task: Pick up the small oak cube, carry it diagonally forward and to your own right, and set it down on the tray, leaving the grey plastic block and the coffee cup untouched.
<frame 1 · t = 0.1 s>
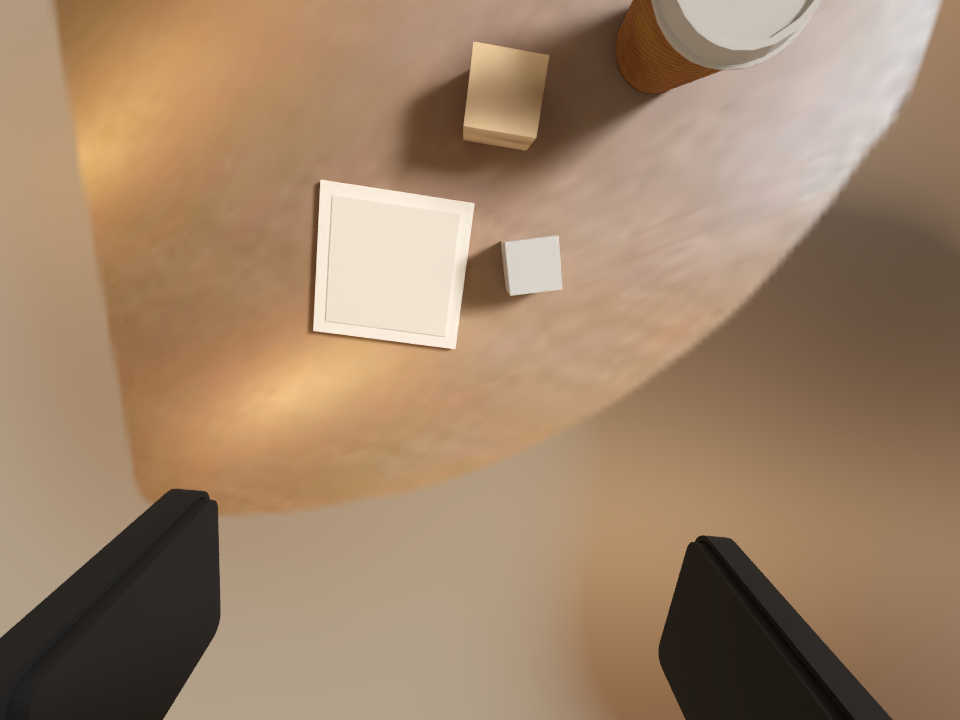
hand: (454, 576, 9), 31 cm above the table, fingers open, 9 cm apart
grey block: (526, 262, 38), on the table
tray: (392, 268, 38), on the table
oak cube: (499, 110, 35), on the table
disposable coffee cup: (655, 48, 34), on the table
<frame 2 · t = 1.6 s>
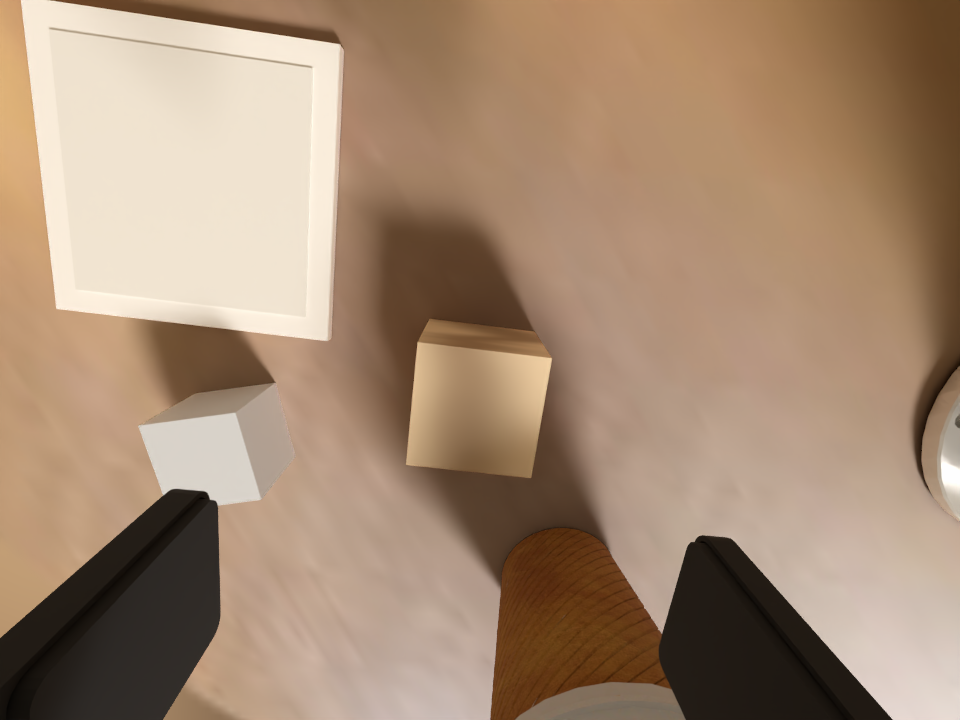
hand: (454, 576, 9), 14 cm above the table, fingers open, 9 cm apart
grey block: (247, 425, 23), on the table
tray: (197, 186, 20), on the table
oak cube: (475, 374, 22), on the table
disposable coffee cup: (557, 573, 26), on the table
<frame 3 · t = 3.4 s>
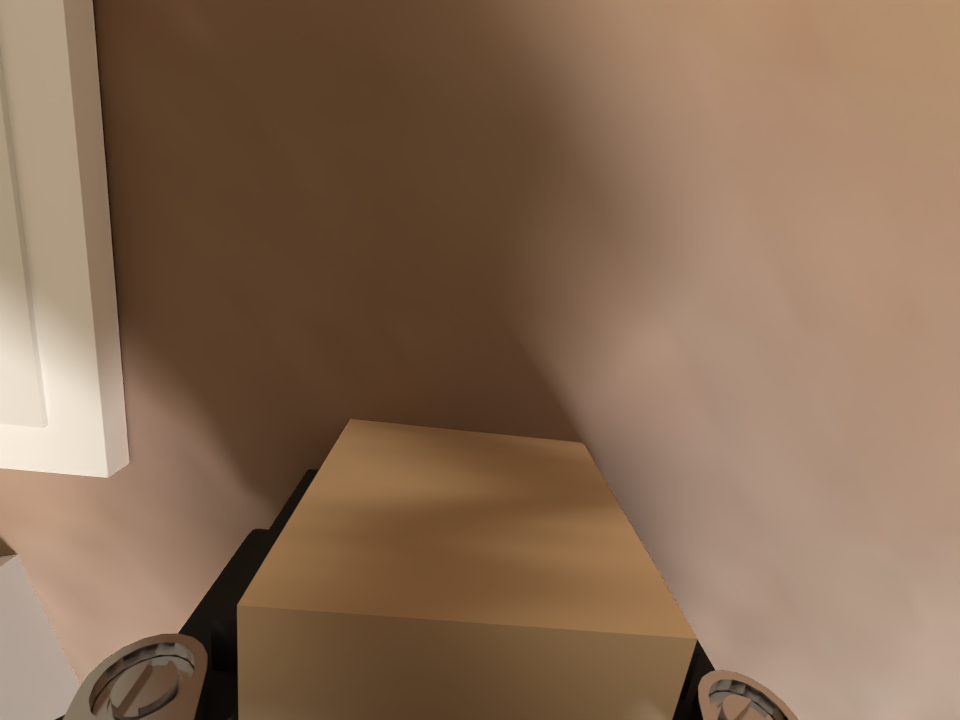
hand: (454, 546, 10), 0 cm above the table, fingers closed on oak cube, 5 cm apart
oak cube: (455, 531, 10), on the table, touching gripper
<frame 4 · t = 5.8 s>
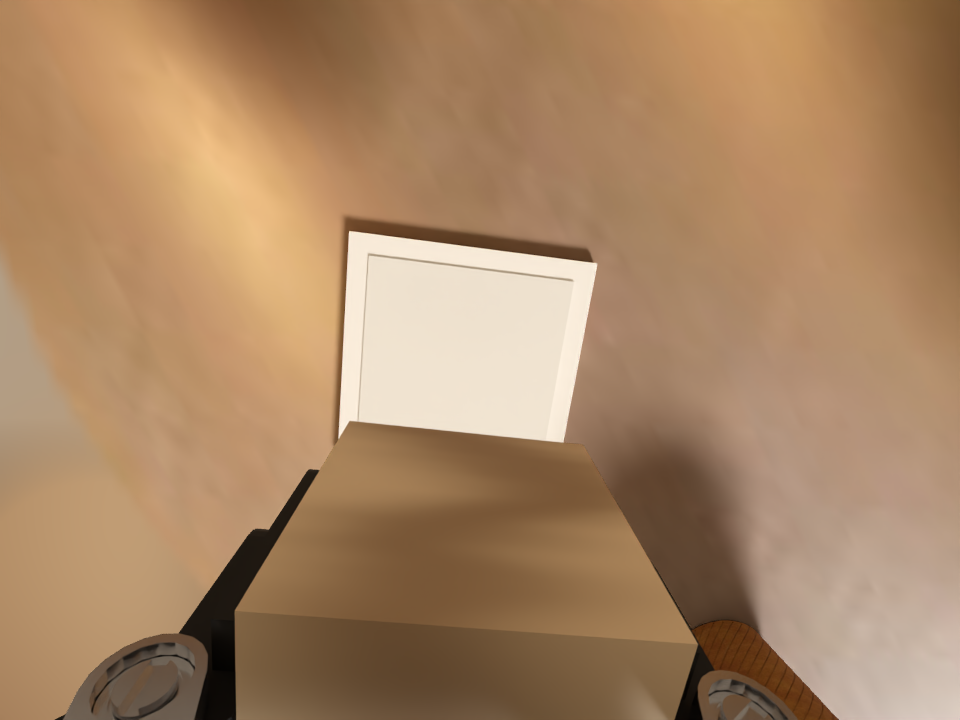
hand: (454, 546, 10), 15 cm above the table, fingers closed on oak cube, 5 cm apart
tray: (461, 363, 24), on the table
oak cube: (455, 533, 10), point 14 cm above the table, touching gripper
disposable coffee cup: (715, 655, 30), on the table
when the fingers open (2 cm above the table, at t = 8.3 s): oak cube drops 1 cm, resting on tray.
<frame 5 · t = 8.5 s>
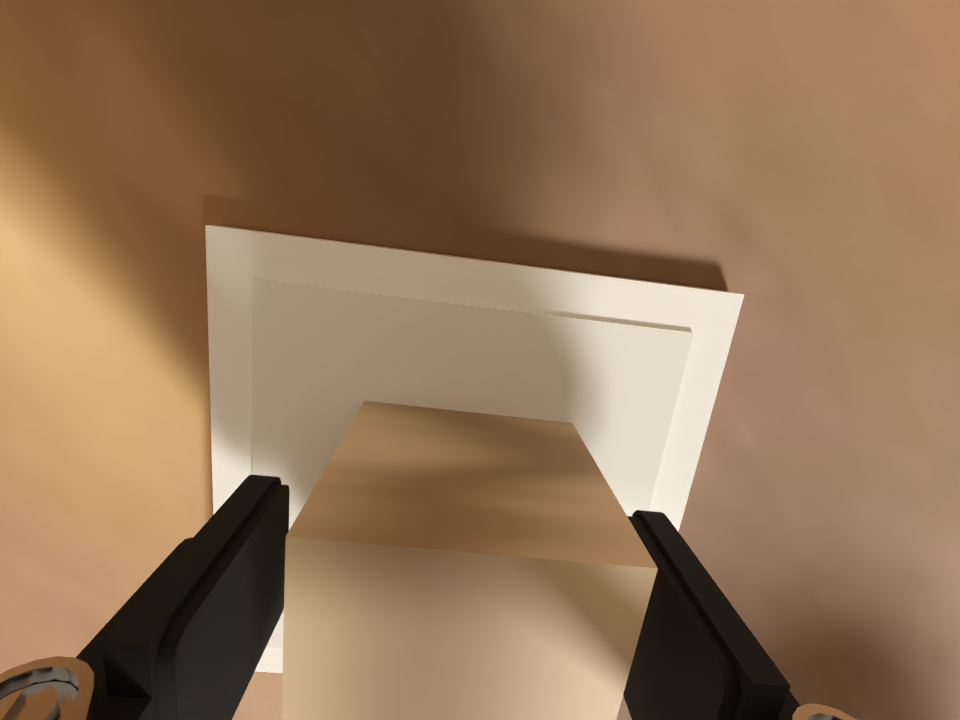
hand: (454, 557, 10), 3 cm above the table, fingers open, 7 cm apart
tray: (455, 487, 12), on the table
oak cube: (458, 503, 12), point 1 cm above the table, touching tray
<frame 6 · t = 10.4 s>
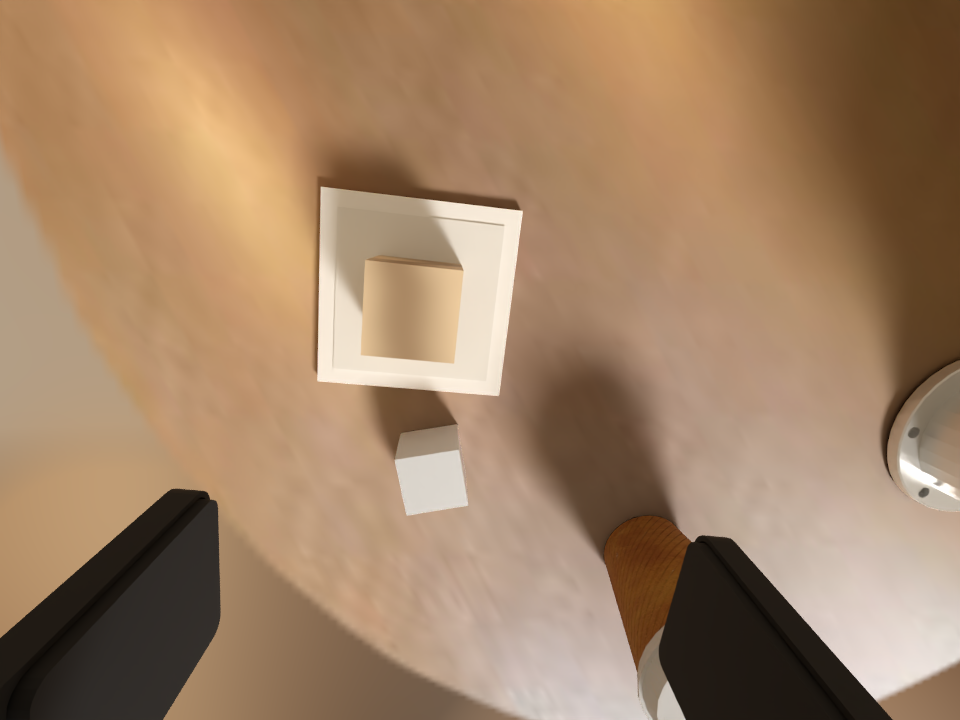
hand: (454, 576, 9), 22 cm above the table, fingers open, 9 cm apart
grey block: (434, 453, 33), on the table
tray: (417, 297, 29), on the table
oak cube: (417, 299, 29), point 1 cm above the table, touching tray
disposable coffee cup: (641, 547, 36), on the table
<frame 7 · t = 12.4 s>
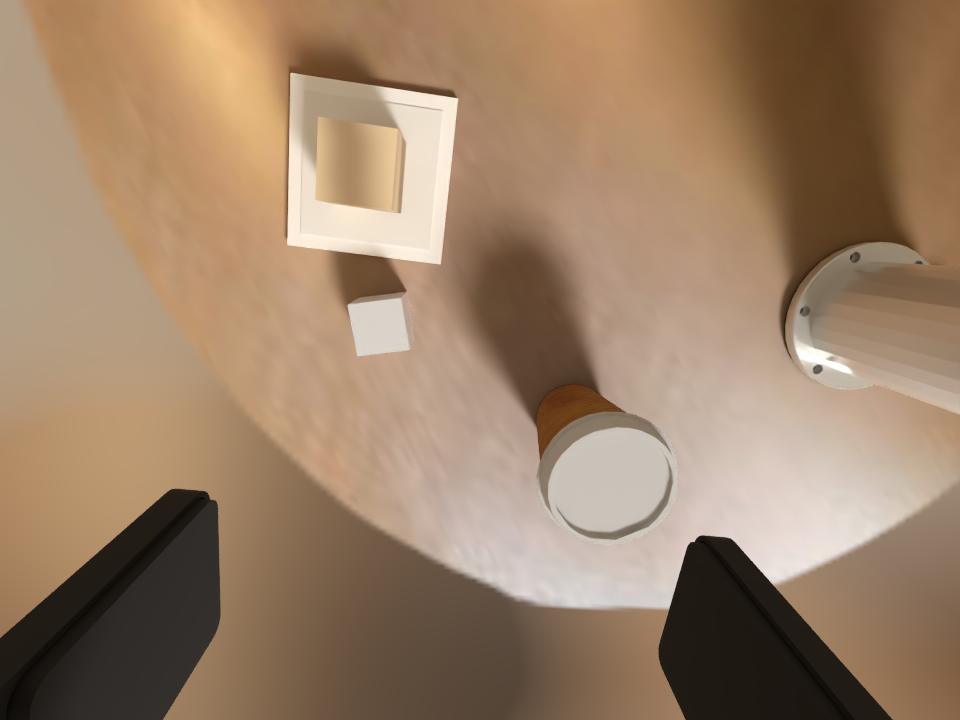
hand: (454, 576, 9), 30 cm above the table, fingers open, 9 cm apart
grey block: (387, 318, 38), on the table
tray: (371, 175, 35), on the table
oak cube: (370, 174, 34), point 1 cm above the table, touching tray
disposable coffee cup: (570, 416, 41), on the table
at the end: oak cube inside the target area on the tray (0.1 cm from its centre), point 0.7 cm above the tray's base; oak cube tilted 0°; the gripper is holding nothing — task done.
